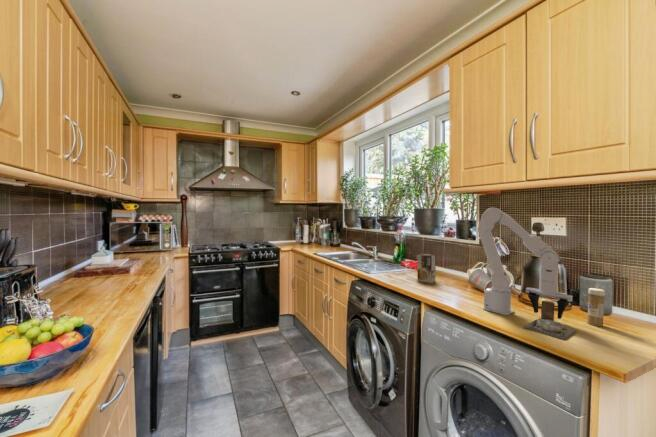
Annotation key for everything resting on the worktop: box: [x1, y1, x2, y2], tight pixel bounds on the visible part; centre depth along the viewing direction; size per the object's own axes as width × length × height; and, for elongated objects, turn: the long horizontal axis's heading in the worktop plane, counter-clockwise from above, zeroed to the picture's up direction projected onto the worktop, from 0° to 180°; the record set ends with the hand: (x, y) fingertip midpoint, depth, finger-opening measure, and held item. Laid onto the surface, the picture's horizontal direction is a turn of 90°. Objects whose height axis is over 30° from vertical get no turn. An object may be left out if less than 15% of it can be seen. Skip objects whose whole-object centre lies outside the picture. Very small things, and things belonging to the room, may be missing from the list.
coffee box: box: [416, 253, 437, 284], centre depth 175 cm, size 9×6×16 cm
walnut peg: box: [540, 300, 555, 321], centre depth 112 cm, size 4×4×7 cm
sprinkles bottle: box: [586, 287, 606, 327], centre depth 108 cm, size 5×5×13 cm
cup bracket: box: [523, 318, 577, 341], centre depth 103 cm, size 12×12×2 cm
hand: (547, 315), depth 112 cm, fingers open, 7 cm apart
